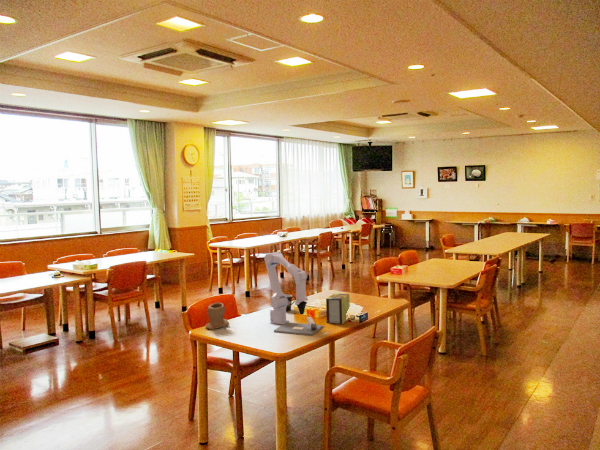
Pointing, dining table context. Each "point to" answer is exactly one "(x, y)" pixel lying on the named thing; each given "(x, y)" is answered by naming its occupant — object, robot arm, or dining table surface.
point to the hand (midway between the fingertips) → (301, 313)
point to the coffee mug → (289, 302)
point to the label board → (297, 329)
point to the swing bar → (311, 323)
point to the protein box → (337, 308)
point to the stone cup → (216, 316)
